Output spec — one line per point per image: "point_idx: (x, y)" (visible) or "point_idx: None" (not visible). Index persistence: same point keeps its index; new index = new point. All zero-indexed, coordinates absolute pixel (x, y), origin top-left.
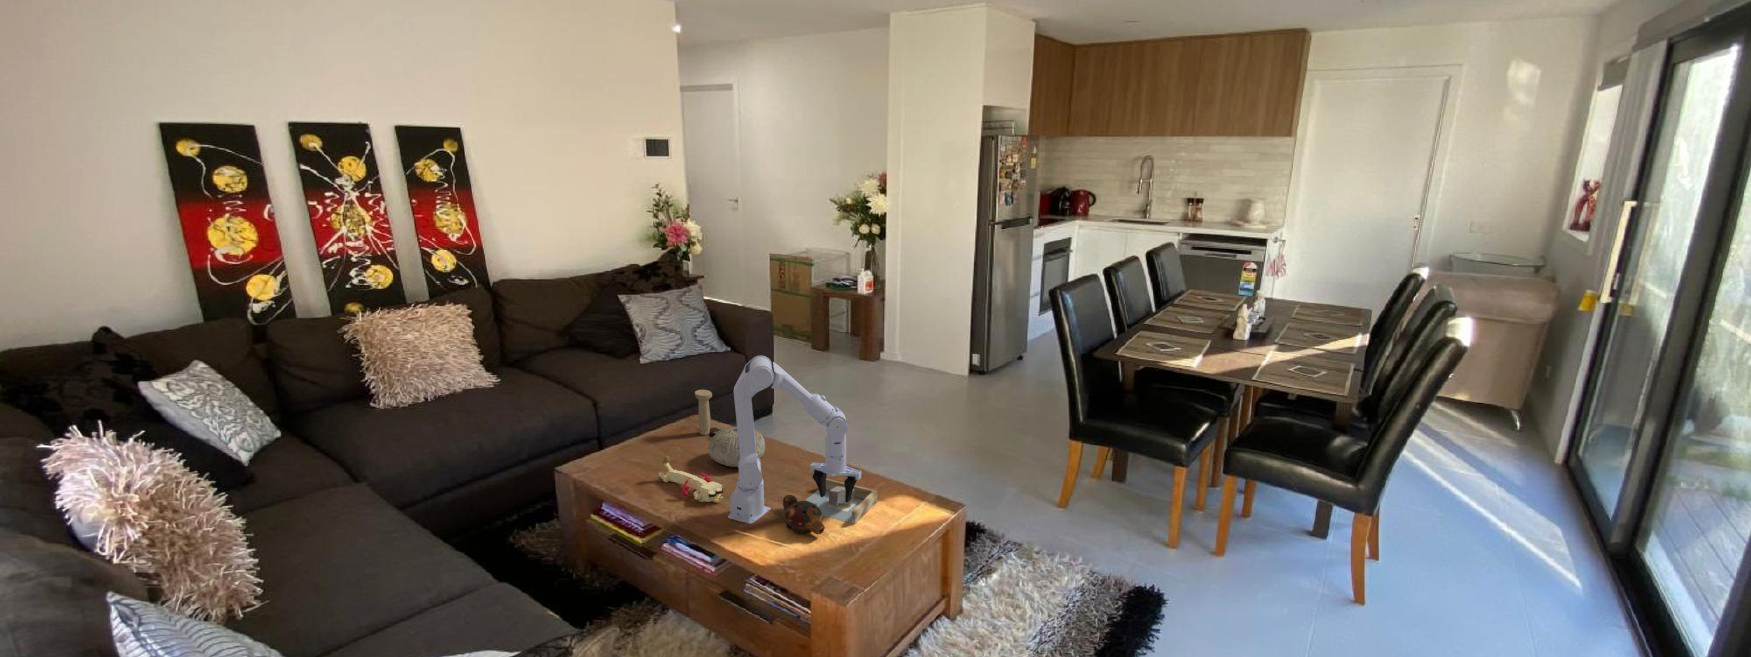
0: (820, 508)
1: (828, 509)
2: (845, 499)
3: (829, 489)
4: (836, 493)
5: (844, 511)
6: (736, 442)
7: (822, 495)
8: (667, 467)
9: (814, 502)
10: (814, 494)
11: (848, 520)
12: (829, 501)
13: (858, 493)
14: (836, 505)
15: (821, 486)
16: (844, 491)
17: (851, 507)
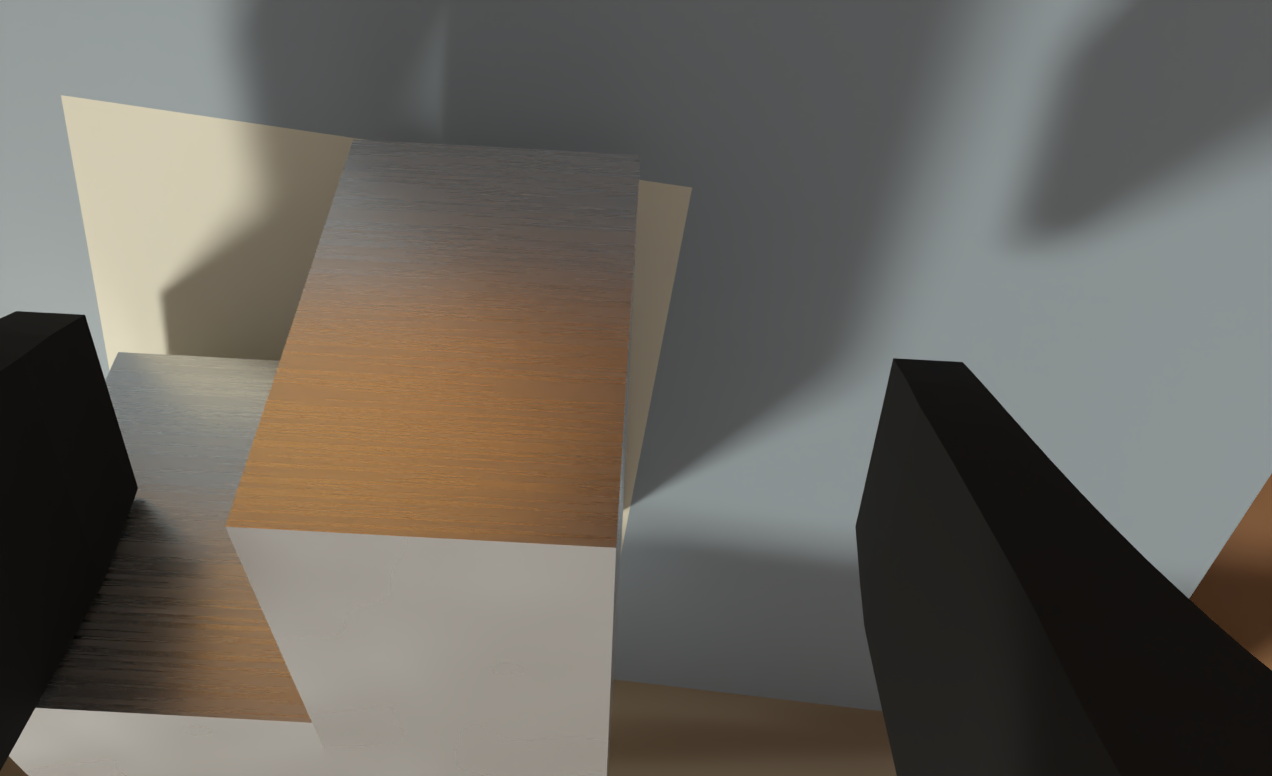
0: (871, 27)
1: (617, 43)
2: (18, 351)
3: (863, 757)
4: (305, 472)
5: (139, 79)
6: None
7: (910, 395)
8: None
9: (1112, 279)
10: None
11: None
12: (603, 222)
13: None
14: (357, 155)
15: (1032, 663)
16: (226, 674)
17: (112, 321)
